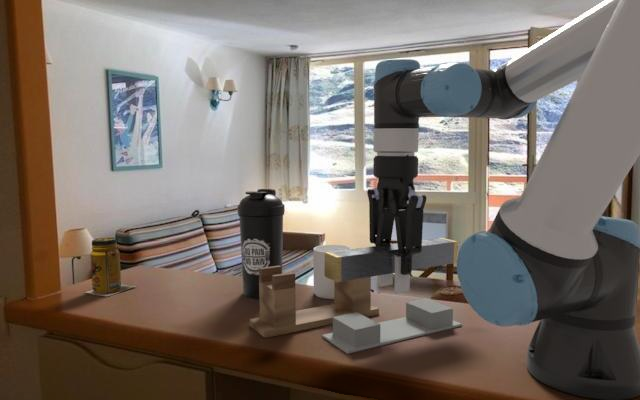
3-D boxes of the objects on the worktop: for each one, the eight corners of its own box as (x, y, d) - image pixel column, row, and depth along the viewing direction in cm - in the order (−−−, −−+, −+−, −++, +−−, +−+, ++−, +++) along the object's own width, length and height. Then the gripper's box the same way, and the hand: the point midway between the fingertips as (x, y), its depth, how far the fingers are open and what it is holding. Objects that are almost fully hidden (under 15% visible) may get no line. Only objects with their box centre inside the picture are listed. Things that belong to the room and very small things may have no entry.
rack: (379, 314, 99) (379, 261, 97) (264, 338, 87) (263, 278, 86) (359, 304, 105) (359, 254, 103) (249, 325, 93) (248, 269, 92)
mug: (372, 294, 112) (373, 248, 111) (357, 304, 105) (357, 255, 104) (324, 287, 118) (324, 243, 116) (306, 296, 110) (306, 250, 109)
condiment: (83, 293, 114) (80, 240, 113) (114, 283, 122) (112, 234, 120) (106, 297, 111) (103, 243, 110) (136, 287, 118) (134, 236, 117)
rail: (441, 258, 97) (442, 237, 96) (456, 262, 93) (457, 241, 93) (324, 276, 84) (324, 252, 84) (337, 282, 81) (337, 257, 80)
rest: (461, 325, 92) (462, 307, 92) (347, 353, 80) (347, 332, 80) (431, 313, 99) (432, 296, 99) (322, 337, 87) (322, 317, 87)
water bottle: (231, 298, 110) (228, 191, 107) (251, 285, 119) (249, 187, 117) (275, 302, 107) (273, 192, 104) (292, 288, 116) (290, 188, 114)
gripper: (448, 155, 81) (443, 298, 84) (383, 152, 95) (381, 274, 98) (410, 156, 77) (407, 305, 80) (349, 153, 92) (349, 279, 95)
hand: (393, 288), depth 89 cm, fingers closed on rail, 4 cm apart
